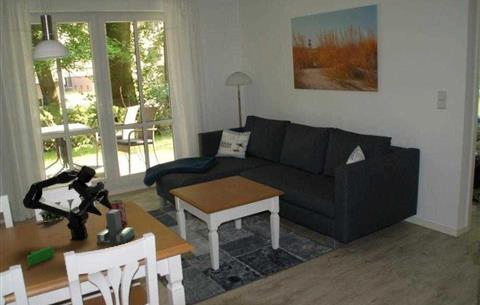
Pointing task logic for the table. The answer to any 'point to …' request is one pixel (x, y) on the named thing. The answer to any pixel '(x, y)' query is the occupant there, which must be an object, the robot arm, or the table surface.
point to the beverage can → (119, 206)
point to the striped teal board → (120, 238)
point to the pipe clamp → (40, 255)
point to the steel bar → (113, 223)
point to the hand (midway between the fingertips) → (106, 212)
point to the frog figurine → (50, 217)
